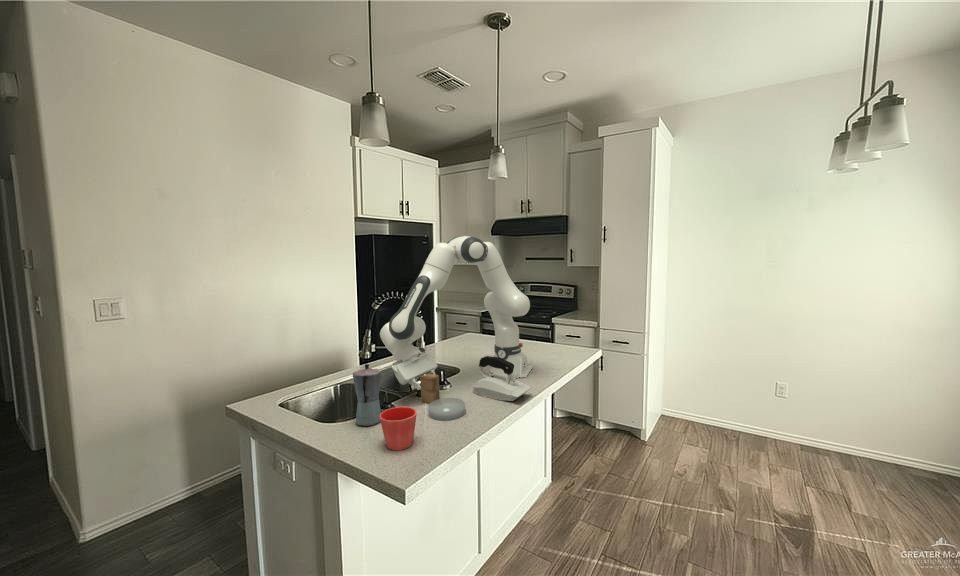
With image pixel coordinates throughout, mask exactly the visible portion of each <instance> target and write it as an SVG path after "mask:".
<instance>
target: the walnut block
mask: <svg viewBox="0 0 960 576" xmlns="http://www.w3.org/2000/svg"><path fill="white" fill-rule="evenodd" d="M439 377H440V376H439V375H438V374H435V375H433V374H426V375H424V376H422V377H420V378H419V380H420V383H421V385H422V386H423V387H422V388H421V389H420V395H421V397H420V398H421V400H420V401H421V403H423V404H425V405H429V404H430V403H431V402H433V401H435V400H438V399H441V398H440V397H441V395H440V378H439Z"/></svg>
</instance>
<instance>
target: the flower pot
mask: <svg viewBox="0 0 960 576" xmlns="http://www.w3.org/2000/svg"><path fill="white" fill-rule="evenodd" d="M417 413H418V411H417V410H416V409H415V408H413V407H410V406H409V407H408V406H396V407H391V408H388V409H385V410H384V411H381V414H380V425H381V428H382V433H383V436H384V437H383V438H384V441H385V445H386V448H387V449H389V450H391V449H392V451H402V450H405V449H407V448H410V447H411V445H413V443H414V442H413V441H414V437H415V429H416V422H417Z"/></svg>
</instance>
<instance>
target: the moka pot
mask: <svg viewBox="0 0 960 576" xmlns="http://www.w3.org/2000/svg"><path fill="white" fill-rule="evenodd" d="M352 378H353V385H354V391H355V395H356V397H357V398H356V399H357V406H356V415H355V423H356V425H358V426H360V427H361V426H363V427H364V426H365V427H369V426H373V425H376V424H378V423H381V421H380V414H381V413H382V410H381V403H380V399H379V398H380V397H379V393H380V392H381V380H382V379H381V378H382V371H381V370H379V369H378V368H372V367H370V364H368V363H366V364H364V369H359V370H356V371H354V372H352Z"/></svg>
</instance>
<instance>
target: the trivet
mask: <svg viewBox="0 0 960 576" xmlns="http://www.w3.org/2000/svg"><path fill="white" fill-rule="evenodd" d="M465 414H466V403H465V401H464V400H462V399H461V398H455V397H444V398H440V399H438V400H435V401H433V402H431V403H430V404H428V416H429V417H430V419H432V420H435V421H444V422H445V421H446V422H449V421H453V420H457V419H460V418H462V417H464V415H465Z"/></svg>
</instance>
